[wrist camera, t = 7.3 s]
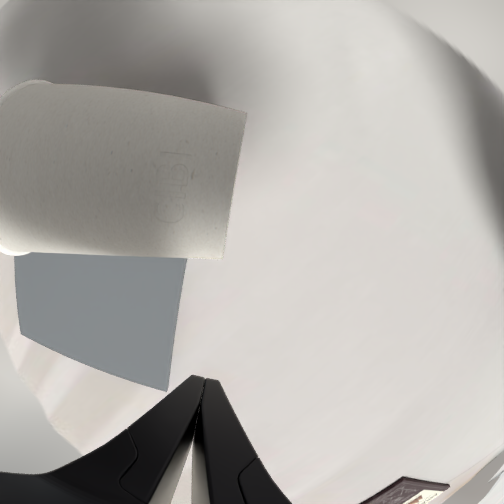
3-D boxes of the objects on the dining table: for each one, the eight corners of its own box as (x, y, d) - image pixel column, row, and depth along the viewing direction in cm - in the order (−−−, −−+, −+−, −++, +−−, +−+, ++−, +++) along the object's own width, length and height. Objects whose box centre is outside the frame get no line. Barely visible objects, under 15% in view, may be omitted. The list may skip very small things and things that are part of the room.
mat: (212, 140, 14) (211, 138, 14) (168, 387, 18) (166, 391, 17) (35, 122, 13) (30, 121, 13) (24, 331, 17) (20, 333, 16)
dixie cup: (224, 252, 16) (68, 228, 15) (249, 101, 13) (81, 92, 12) (210, 346, 8) (-24, 283, 7) (260, 40, 5) (-19, 68, 4)
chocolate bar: (404, 479, 21) (450, 486, 24) (401, 474, 22) (448, 483, 25) (347, 513, 23) (407, 515, 25) (346, 508, 24) (405, 512, 26)
